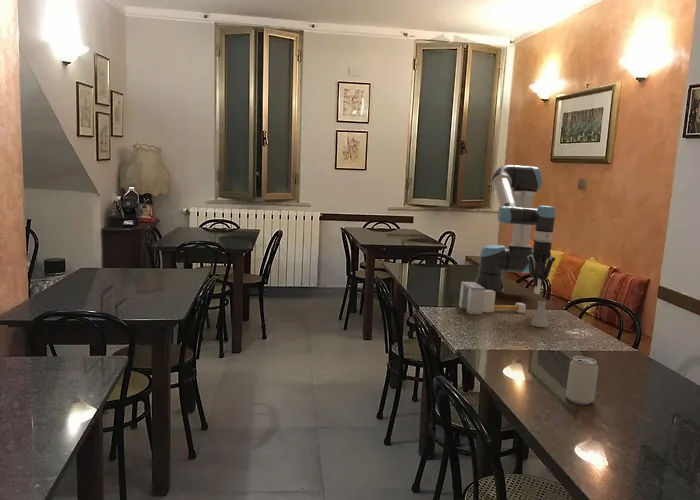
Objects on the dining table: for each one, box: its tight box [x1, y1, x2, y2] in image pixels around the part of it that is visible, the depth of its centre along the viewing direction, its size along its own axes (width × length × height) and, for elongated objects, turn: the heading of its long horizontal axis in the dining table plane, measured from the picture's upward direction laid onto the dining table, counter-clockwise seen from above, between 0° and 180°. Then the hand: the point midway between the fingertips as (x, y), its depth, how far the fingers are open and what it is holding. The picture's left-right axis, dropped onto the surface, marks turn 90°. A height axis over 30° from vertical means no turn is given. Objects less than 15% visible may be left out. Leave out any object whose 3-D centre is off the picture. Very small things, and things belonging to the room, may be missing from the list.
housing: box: [458, 281, 485, 315], centre depth 263 cm, size 6×12×12 cm, turn 11°
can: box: [565, 355, 599, 405], centre depth 167 cm, size 8×8×12 cm
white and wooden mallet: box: [482, 290, 527, 314], centre depth 266 cm, size 21×4×9 cm, turn 101°
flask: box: [529, 300, 549, 328], centre depth 246 cm, size 7×7×10 cm
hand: (536, 293), depth 268 cm, fingers closed
